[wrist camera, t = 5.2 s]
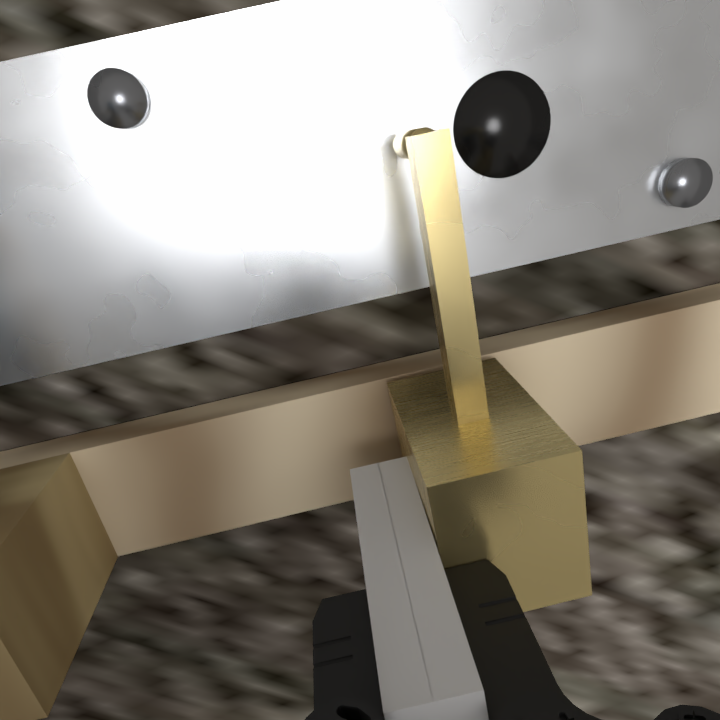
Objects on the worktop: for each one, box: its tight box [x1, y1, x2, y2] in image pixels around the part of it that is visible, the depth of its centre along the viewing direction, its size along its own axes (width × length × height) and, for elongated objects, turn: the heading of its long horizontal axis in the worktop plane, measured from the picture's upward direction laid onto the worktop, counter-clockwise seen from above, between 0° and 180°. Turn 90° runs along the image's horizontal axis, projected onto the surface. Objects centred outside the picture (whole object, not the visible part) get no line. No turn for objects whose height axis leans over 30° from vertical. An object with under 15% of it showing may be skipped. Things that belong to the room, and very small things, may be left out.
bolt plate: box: [0, 0, 720, 386], centre depth 14 cm, size 22×7×1 cm, turn 102°
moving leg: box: [387, 127, 592, 612], centre depth 12 cm, size 3×10×5 cm, turn 12°
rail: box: [0, 283, 720, 720], centre depth 13 cm, size 22×10×6 cm, turn 102°
